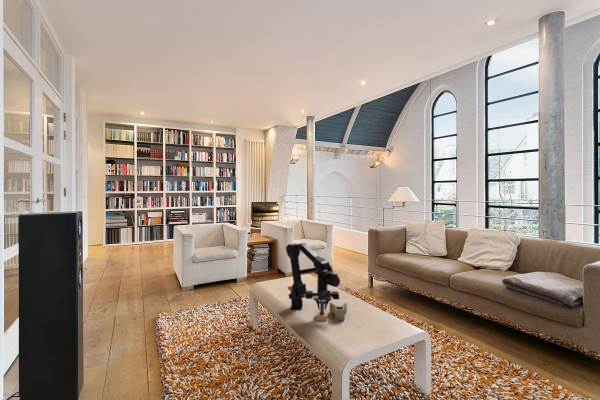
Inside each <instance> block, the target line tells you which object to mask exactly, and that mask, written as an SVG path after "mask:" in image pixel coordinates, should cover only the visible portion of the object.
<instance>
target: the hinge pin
mask: <svg viewBox="0 0 600 400" xmlns="http://www.w3.org/2000/svg"><path fill="white" fill-rule="evenodd" d="M319 307H320V310H319V312H320V315H324V312H325V300H319Z"/></svg>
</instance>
